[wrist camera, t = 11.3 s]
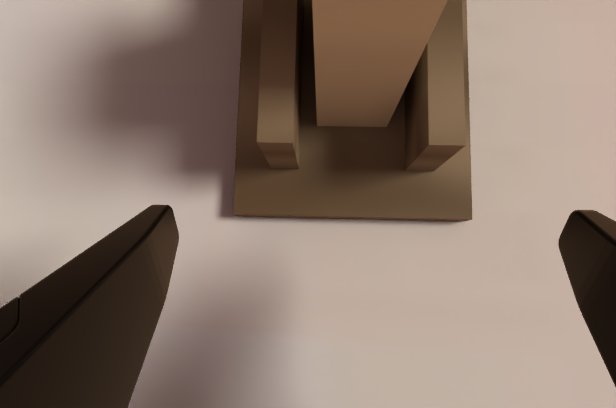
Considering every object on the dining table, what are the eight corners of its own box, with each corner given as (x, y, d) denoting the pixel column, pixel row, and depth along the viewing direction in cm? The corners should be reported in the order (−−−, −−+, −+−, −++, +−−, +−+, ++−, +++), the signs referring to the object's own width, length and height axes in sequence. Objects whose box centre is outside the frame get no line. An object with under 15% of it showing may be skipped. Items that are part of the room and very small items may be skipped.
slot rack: (465, 221, 18) (515, 206, 14) (236, 215, 19) (207, 200, 14) (458, -71, 20) (500, -174, 15) (250, -71, 20) (229, -171, 16)
